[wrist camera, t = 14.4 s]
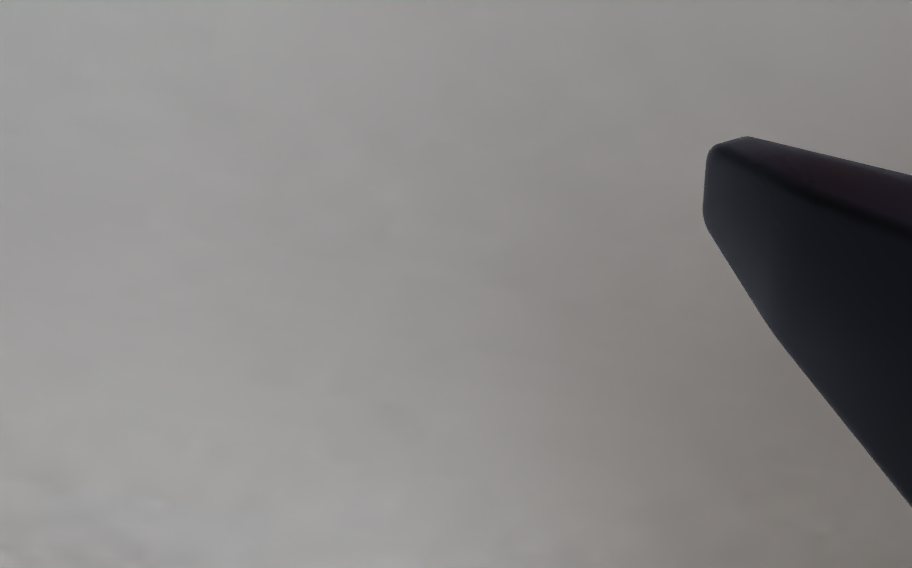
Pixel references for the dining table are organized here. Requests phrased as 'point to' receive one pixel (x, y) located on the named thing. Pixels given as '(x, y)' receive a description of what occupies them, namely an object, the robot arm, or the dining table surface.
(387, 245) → the dining table surface
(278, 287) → the dining table surface
